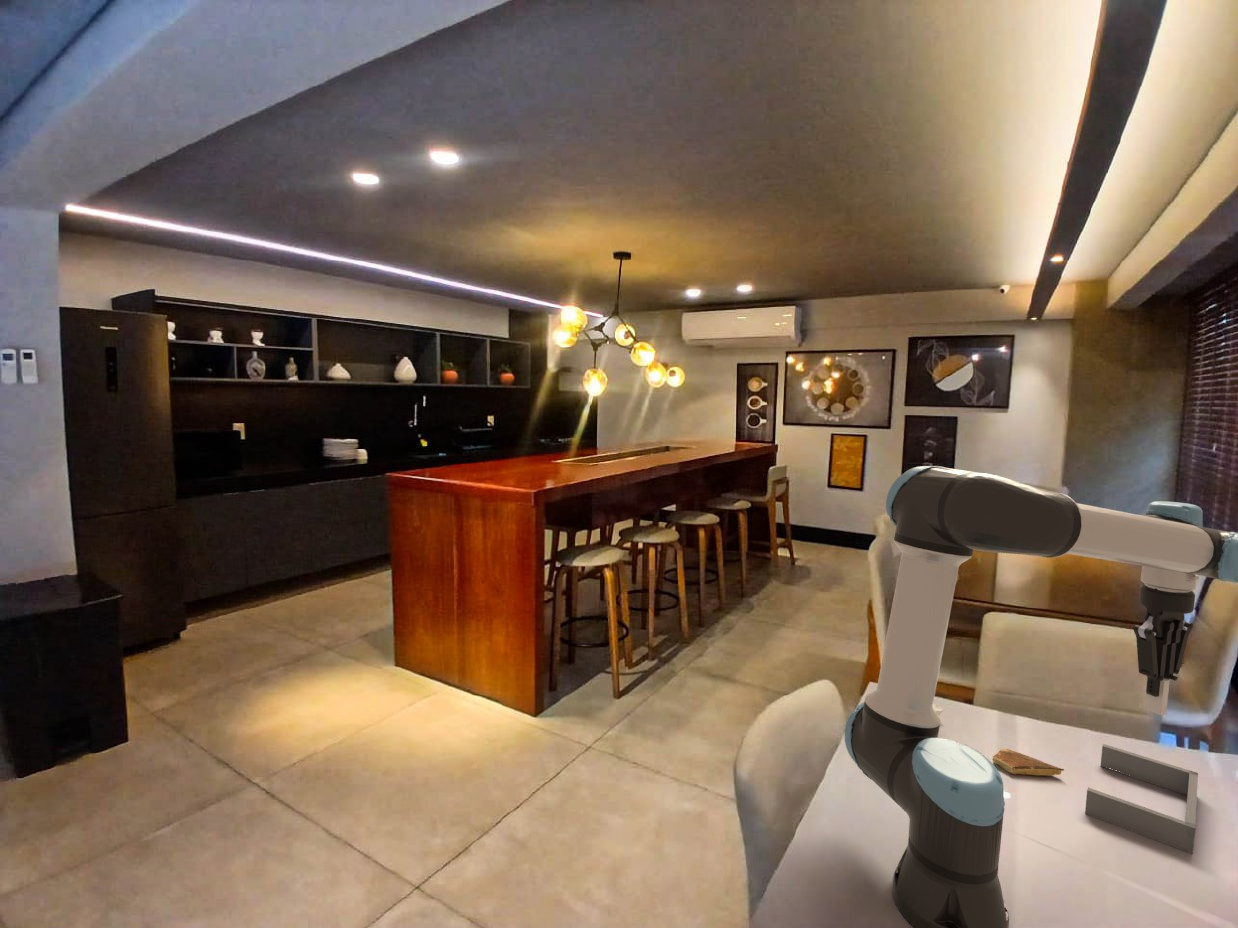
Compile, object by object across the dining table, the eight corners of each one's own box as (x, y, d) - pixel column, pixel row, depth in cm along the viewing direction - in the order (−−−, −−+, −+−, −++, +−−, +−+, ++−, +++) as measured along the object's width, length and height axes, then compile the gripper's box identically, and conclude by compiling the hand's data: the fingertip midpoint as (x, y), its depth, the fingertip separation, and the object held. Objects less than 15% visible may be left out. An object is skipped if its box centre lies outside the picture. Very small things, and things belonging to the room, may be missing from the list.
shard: (1064, 776, 124) (1064, 767, 124) (1051, 791, 119) (1051, 782, 119) (1003, 753, 132) (1004, 745, 132) (989, 766, 127) (990, 758, 127)
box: (1085, 813, 113) (1087, 790, 113) (1101, 764, 129) (1103, 743, 129) (1192, 853, 103) (1195, 828, 103) (1195, 794, 119) (1198, 772, 119)
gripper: (1168, 596, 106) (1155, 726, 108) (1215, 589, 111) (1201, 715, 113) (1120, 584, 113) (1109, 707, 115) (1166, 578, 118) (1154, 697, 120)
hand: (1155, 711), depth 114 cm, fingers closed
